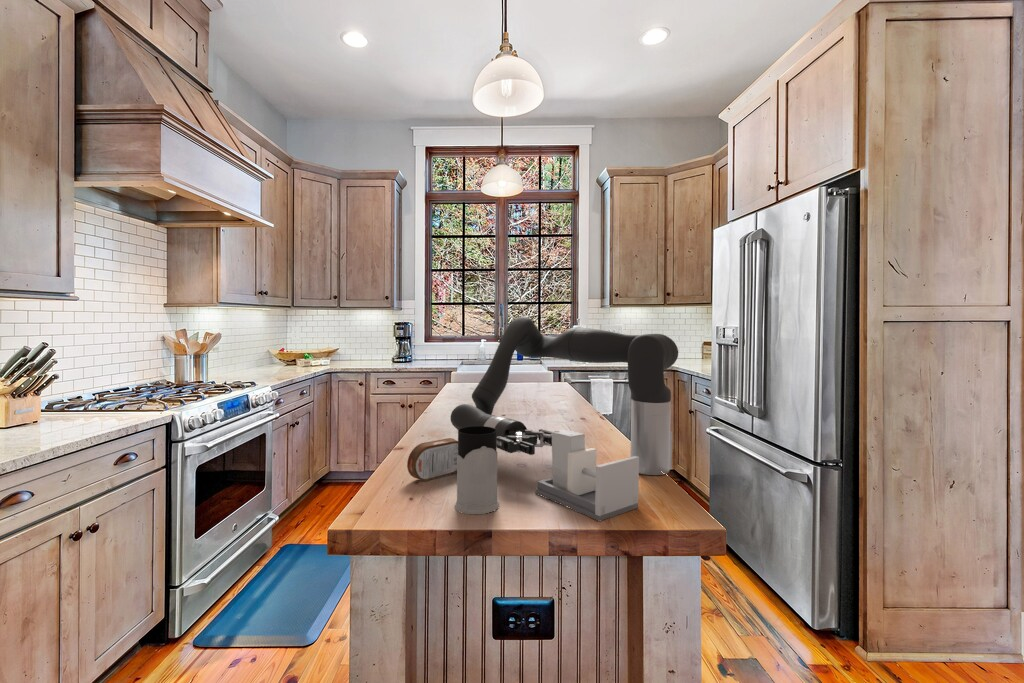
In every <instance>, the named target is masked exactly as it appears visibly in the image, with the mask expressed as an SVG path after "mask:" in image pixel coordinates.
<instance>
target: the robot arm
mask: <svg viewBox="0 0 1024 683" xmlns="http://www.w3.org/2000/svg"><path fill="white" fill-rule="evenodd" d="M515 351H516V353H517V354H519V355H520V356H522V357H525V358H552V359H553V358H554V359H561V360H570V361H574V362H580V363H591V364H593V363H594V364H609V363H610V364H612V363H623V364H624V363H627V382H628V383H627V384H628V388H629V390H630V394H631V397H630V398H631V399H630V400H631V404H630V406H631V408H630V409H631V410H630V451H629V452H630V454H629V455H630V456H629V457H633V456H637V457H639V474H641V475H648V476H663V475H667V474H669V472H670V470H672V458H673V457H672V456H673V455H672V452H673V451H672V450H673V445H672V444H673V431H672V430H671V412H672V411H671V410H672V408H671V404H672V403H671V402H672V401H671V400H672V392H671V389H670V388H669V387H668V386H666V384H665V373H664V372H665V370H668V369H669V368H670V367H672V366H673V365H674V364H675V363H676V361H677V359H678V358H679V349H678V346H677V343H675V341H674V340H673V339H672V338H670V337H669V336H667V335H665V334H662V333H644V334H625V333H619V332H614V331H609V330H603V329H595V328H587V327H570V328H568V329H566V330H565V331H563V332H561V333H560V334H559V335H557V336H551V335H549V336H548V335H544V334H542V333H541V332H540V330H539V329H538V327H537V326H536V324H535V323H534V321H533V320H532V319H531V318H530V317H528V316H525V315H523V316H522V315H521V316H519V317H516V318H515V319H513V320H512V321H510V323H509V325H508V326H507V327H506V329H505V330H504V333H503V334H502V337H501V339H500V342H499V344H498V346H497V348H496V351H495V353H494V356H493V358H492V360H491V363H490V365H489V366H488V367H487V370H486V371H485V373H484V375H483V376H482V378H481V379H480V381H479V382H478V384H477V386H476V387H475V389H474V390H473V391H472V394H471V399H472V401H473V403H474V404H475V406H474V405H472V404H468V403H462V404H459V405H457V406H455V407H454V408H453V410H452V411H451V413H450V423H451V425H452V426H453V428H455V429H456V430H457V431H458V430H459V429H461V428H464V427H470V426H486V427H492V428H495V429H496V430H497V449H498V450H501V451H503V452H506V453H509V454H513V453H514V454H515V453H524V454H527V455H530V456H533V455H535V454H536V453H535V452H536V448H543V447H545V446H546V447H547V446H548V447H552V432H553V431H550V430H547V429H542V428H541V429H538V430H532V429H528V428H527V427H526V425H525V423H523V422H522V421H519V420H516V419H512V418H507V417H505V416H497V415H493V411H494V408H495V405H496V403H497V402H498V400H499V399H500V397H501V395H502V394H503V392H504V390H505V389H506V386H507V384H508V380H509V376H510V370H511V369H510V368H511V364H512V360H513V357H514V356H513V355H514V354H515ZM538 440H539V443H538ZM661 471H662V472H663V473H665V474H663V473H662V472H661Z"/></svg>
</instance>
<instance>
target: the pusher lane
mask: <svg viewBox="0 0 1024 683" xmlns="http://www.w3.org/2000/svg"><path fill="white" fill-rule="evenodd" d="M639 474H640V473H639V457H637V456H633V457H630V456H629V457H626V458H621V459H617V460H613V461H609V462H605V463H601V464H596V490H595V491H592V492H588V493H585V494H581V495H576V494H574V493H571V492H569V491H566V490H564V489H561V488H559V487H556V486H554V485H553V476H552V477H549V478H544V479H541V480H537V481H536V482H537V483H536V488H535V490H534V491H535V493H537V494H536V495H538V494H539V495H538V496H540V495H542V496H544V497H543V498H545V497H546V498H545V499H547V498H548V499H547V500H549V499H551V500H553V501H552V502H554V501H556V502H558V503H561V504H563V505H565V506H568V507H570V508H572V509H574V510H576V511H578V512H577V513H579V512H581V513H583V514H585V515H584V516H586V515H587V516H586V517H588V516H590V517H592V518H594V519H593V520H595V519H597V520H599V521H598V522H601V521H600V520H602V521H604V520H603V519H605V520H607V519H606V518H608V519H610V518H609V517H611V518H613V517H615V516H619V515H623V514H624V513H627V512H630V511H634V510H637V509H638V508H639V481H640V480H639V479H640V478H639V477H640V476H639ZM542 496H541V497H542ZM551 500H550V501H551ZM556 502H555V503H556ZM558 503H557V504H558ZM561 504H560V505H561ZM563 505H562V506H563ZM565 506H564V507H565ZM570 508H569V509H570ZM572 509H571V510H572ZM574 510H573V511H574ZM576 511H575V512H576ZM581 513H580V514H581ZM583 514H582V515H583ZM618 514H619V515H618ZM612 516H613V517H612ZM590 517H589V518H590ZM592 518H591V519H592ZM597 520H596V521H597Z"/></svg>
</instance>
